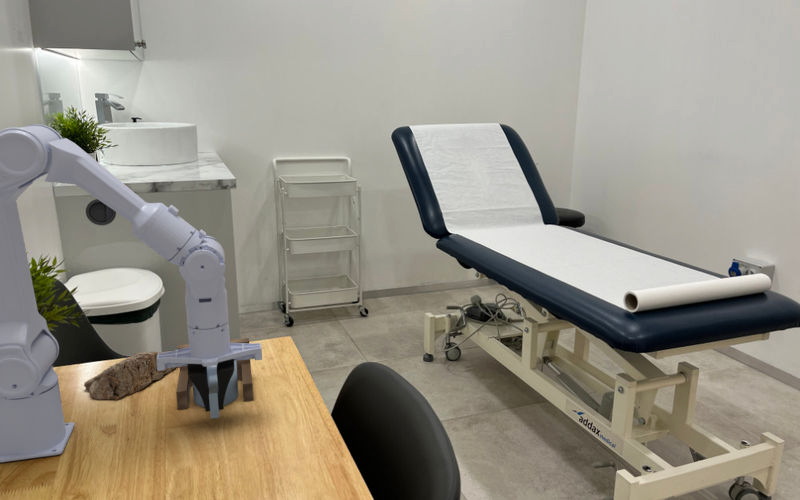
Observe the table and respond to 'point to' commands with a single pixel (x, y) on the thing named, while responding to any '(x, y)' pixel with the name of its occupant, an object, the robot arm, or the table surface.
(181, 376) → the caddy
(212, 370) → the finned dome knob
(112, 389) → the rock
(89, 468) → the table surface
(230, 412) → the table surface
